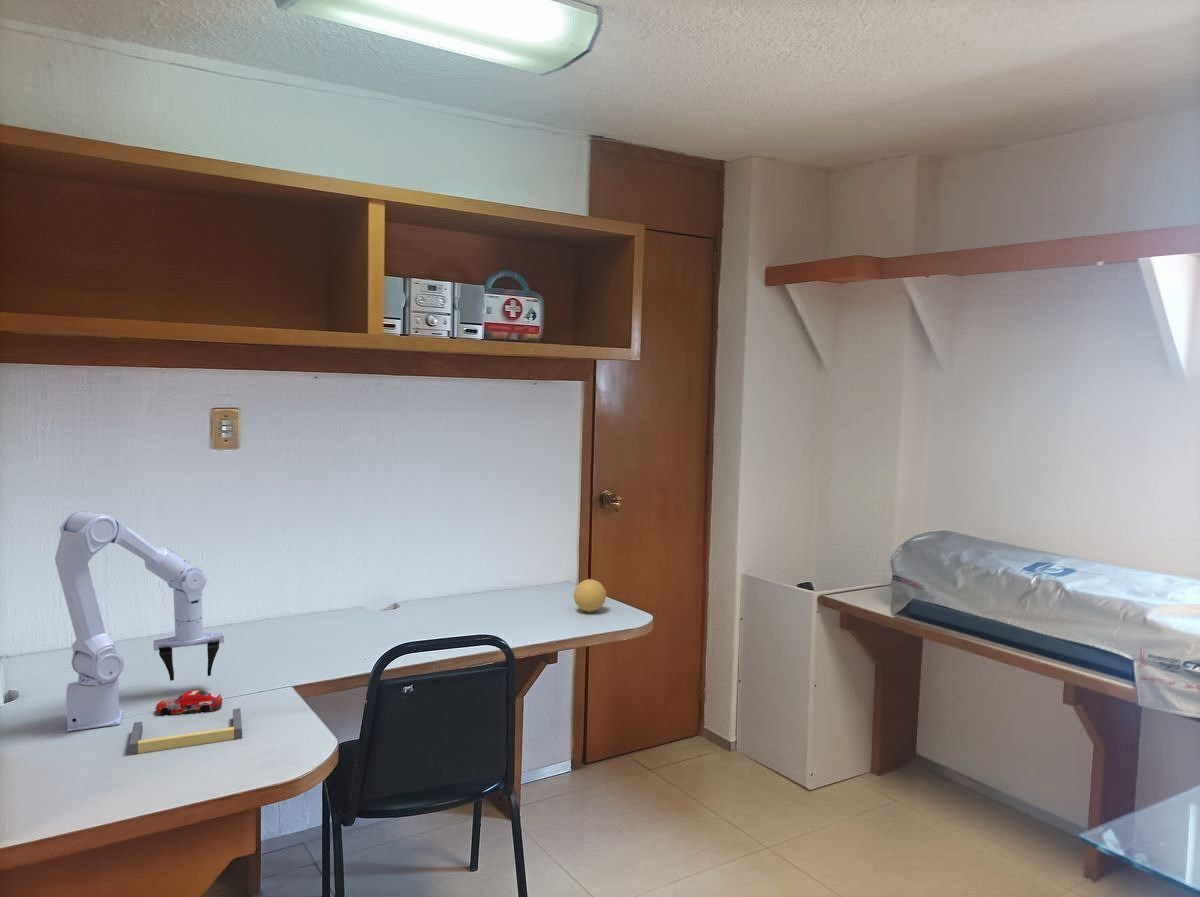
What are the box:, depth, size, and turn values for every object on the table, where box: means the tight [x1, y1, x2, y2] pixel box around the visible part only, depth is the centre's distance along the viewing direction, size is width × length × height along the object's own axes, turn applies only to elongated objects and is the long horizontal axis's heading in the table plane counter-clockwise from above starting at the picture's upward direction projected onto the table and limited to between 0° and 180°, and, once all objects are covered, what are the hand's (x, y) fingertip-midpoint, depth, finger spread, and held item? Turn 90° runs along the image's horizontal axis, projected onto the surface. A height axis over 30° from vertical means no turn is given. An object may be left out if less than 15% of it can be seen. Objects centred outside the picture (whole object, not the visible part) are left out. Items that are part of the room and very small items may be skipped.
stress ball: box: [573, 578, 607, 614], centre depth 270 cm, size 10×10×10 cm
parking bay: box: [128, 707, 243, 755], centre depth 177 cm, size 20×12×2 cm, turn 114°
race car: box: [155, 690, 224, 717], centre depth 190 cm, size 13×5×4 cm, turn 102°
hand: (190, 676), depth 200 cm, fingers open, 7 cm apart
